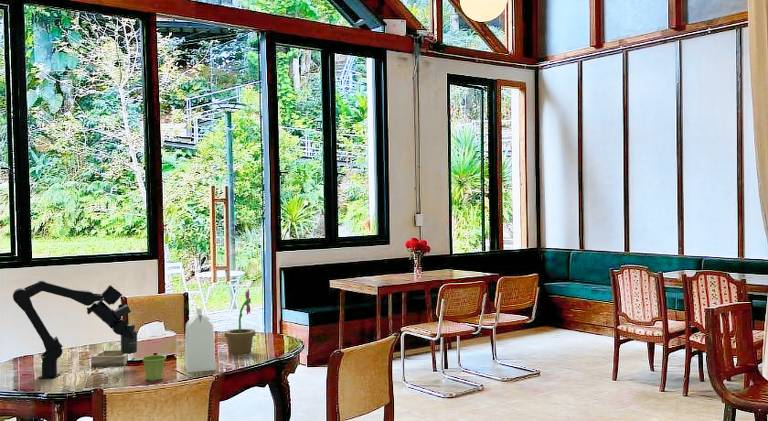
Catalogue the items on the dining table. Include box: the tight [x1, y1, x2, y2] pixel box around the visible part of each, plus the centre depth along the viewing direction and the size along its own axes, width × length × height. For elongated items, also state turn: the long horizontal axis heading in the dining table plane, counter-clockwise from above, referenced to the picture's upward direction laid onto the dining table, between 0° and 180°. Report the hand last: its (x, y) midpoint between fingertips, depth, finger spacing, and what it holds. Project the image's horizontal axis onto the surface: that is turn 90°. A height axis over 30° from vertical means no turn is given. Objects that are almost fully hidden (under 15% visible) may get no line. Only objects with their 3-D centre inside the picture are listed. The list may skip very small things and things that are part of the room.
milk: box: [184, 306, 216, 373], centre depth 310 cm, size 12×12×26 cm
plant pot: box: [141, 354, 167, 382], centre depth 292 cm, size 9×9×9 cm
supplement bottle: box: [120, 323, 138, 354], centre depth 313 cm, size 7×7×12 cm
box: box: [90, 349, 128, 367], centre depth 324 cm, size 14×14×4 cm
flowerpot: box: [224, 289, 256, 356], centre depth 340 cm, size 14×14×30 cm
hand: (132, 336), depth 313 cm, fingers closed on supplement bottle, 7 cm apart
